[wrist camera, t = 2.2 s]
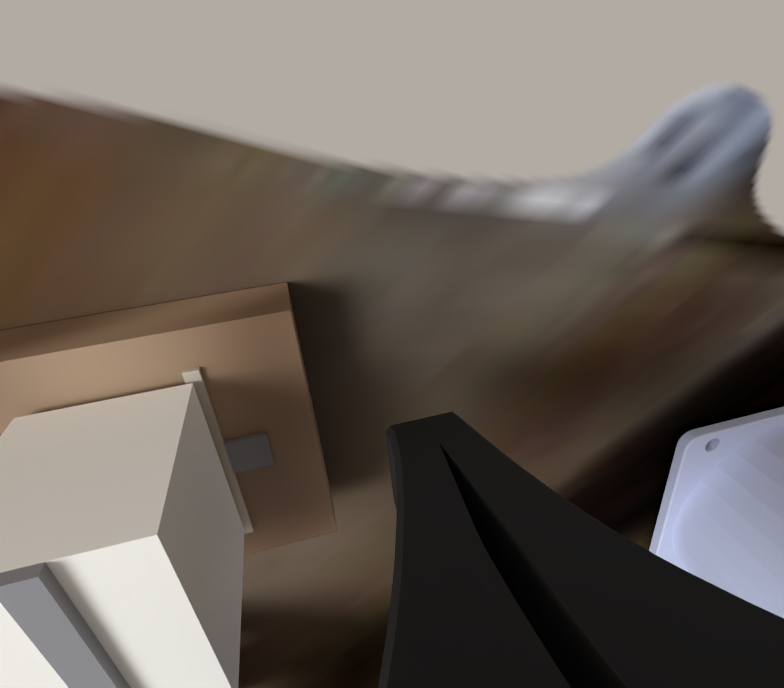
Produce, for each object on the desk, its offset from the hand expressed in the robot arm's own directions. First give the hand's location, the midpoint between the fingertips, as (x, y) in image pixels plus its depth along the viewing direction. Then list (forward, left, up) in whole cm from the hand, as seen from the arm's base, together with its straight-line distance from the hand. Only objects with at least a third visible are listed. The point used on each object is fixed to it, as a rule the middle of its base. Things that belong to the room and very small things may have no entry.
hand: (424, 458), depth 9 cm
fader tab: (+5, 0, -1) cm, 6 cm away
